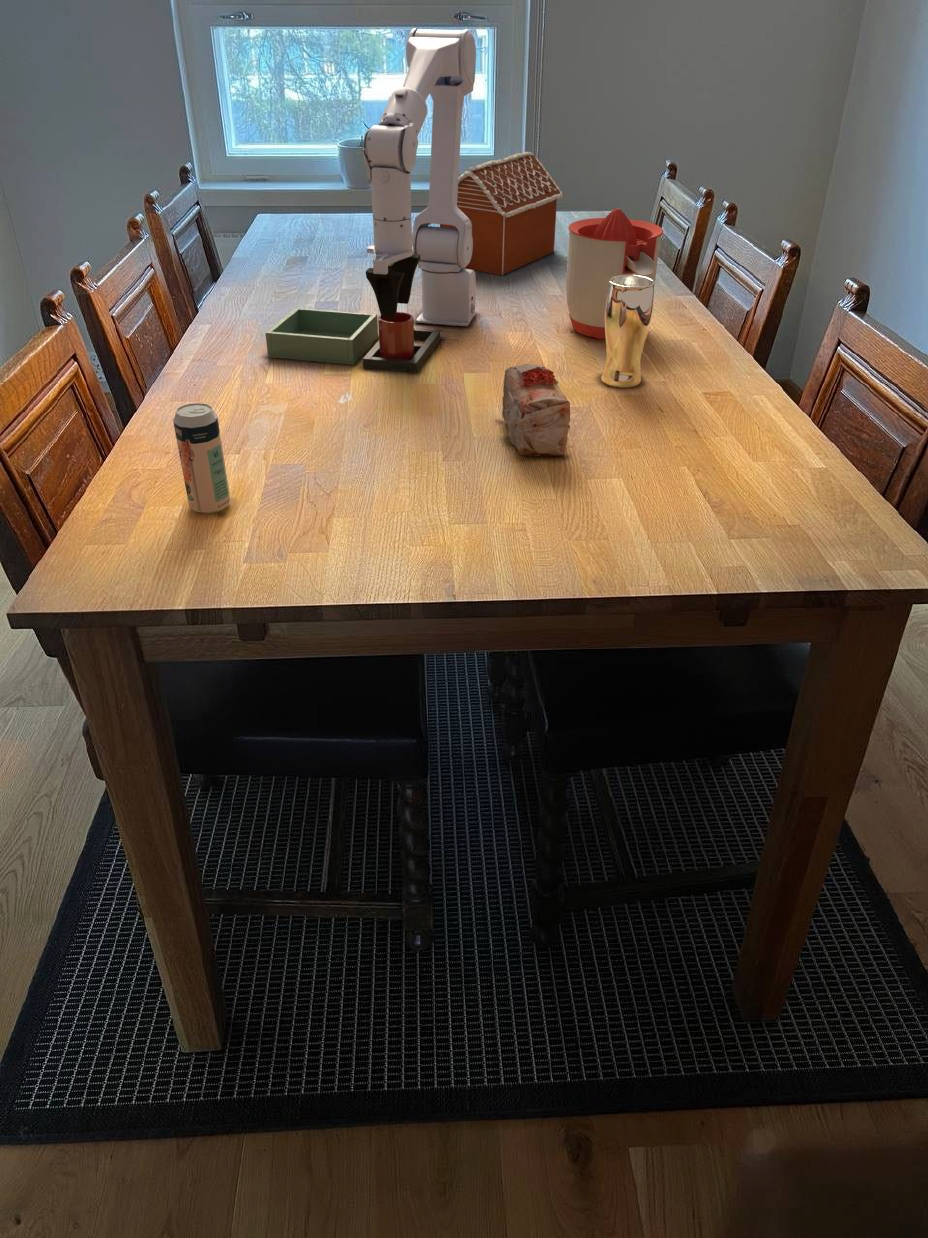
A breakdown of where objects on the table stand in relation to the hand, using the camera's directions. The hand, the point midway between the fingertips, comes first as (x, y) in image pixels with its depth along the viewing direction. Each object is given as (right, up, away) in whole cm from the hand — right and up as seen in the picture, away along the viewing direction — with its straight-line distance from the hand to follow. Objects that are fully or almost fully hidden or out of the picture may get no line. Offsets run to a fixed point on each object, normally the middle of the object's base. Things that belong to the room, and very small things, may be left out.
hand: (395, 309), depth 143 cm
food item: (+20, -24, -20) cm, 37 cm away
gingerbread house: (+18, +31, +57) cm, 68 cm away
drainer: (+1, -4, +8) cm, 9 cm away
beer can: (-19, -35, -35) cm, 53 cm away
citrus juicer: (+36, +2, +18) cm, 40 cm away
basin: (-12, -3, +10) cm, 16 cm away
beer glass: (+35, -12, -1) cm, 37 cm away
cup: (0, -7, +5) cm, 8 cm away
